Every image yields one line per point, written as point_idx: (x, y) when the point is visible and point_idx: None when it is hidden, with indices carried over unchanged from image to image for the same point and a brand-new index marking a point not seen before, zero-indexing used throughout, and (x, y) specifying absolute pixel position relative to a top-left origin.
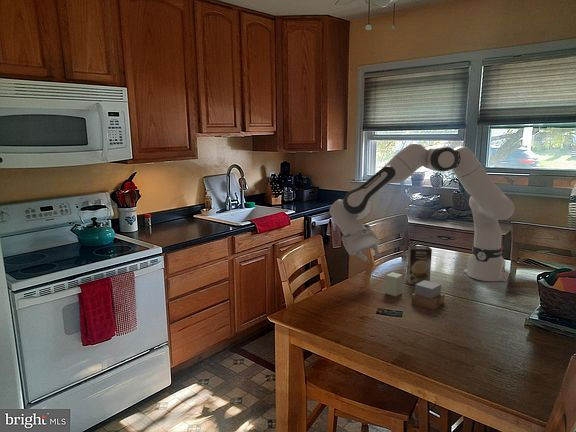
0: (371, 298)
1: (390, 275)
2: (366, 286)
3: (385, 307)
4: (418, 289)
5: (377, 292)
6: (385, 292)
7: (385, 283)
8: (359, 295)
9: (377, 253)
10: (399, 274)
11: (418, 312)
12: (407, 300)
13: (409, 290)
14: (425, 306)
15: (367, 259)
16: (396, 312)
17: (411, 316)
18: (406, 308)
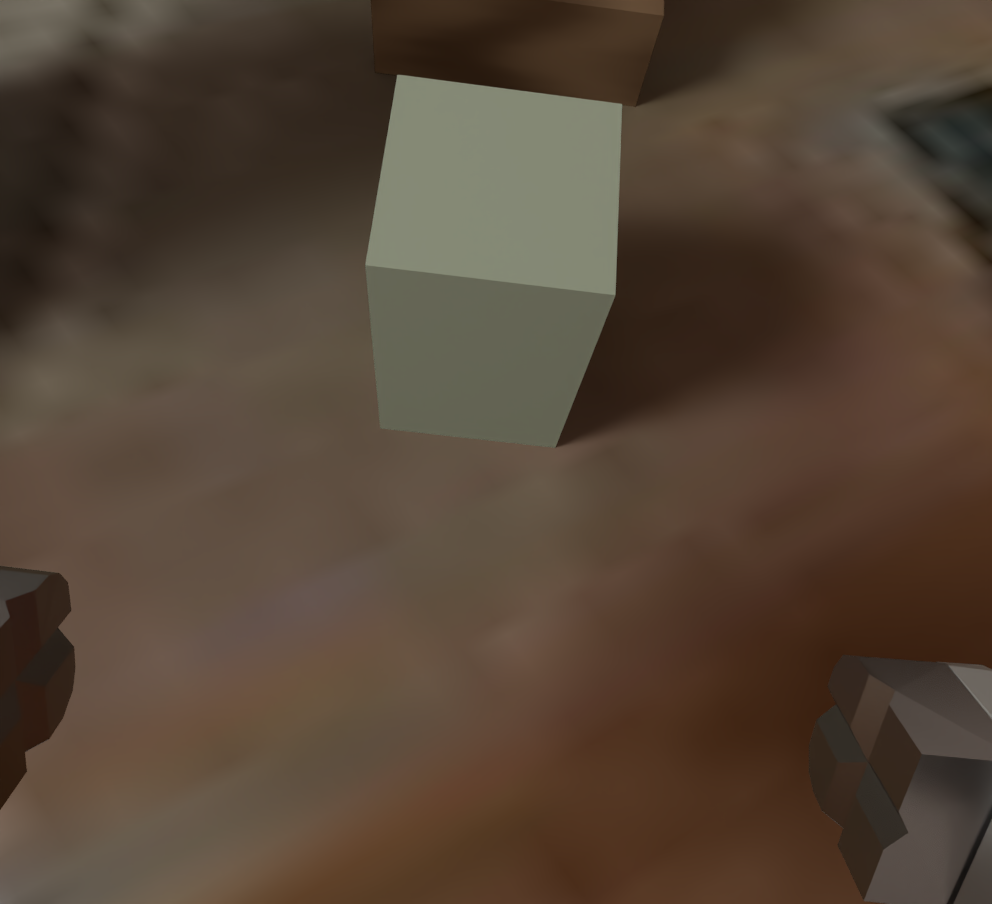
0: (851, 512)
1: (582, 217)
2: (481, 828)
3: (943, 269)
4: None
5: (602, 546)
6: (556, 438)
7: (582, 378)
8: None
9: (14, 629)
10: (418, 120)
11: (793, 4)
12: None
13: (255, 237)
14: None
15: (846, 677)
16: (955, 145)
17: (919, 25)
18: (795, 105)
